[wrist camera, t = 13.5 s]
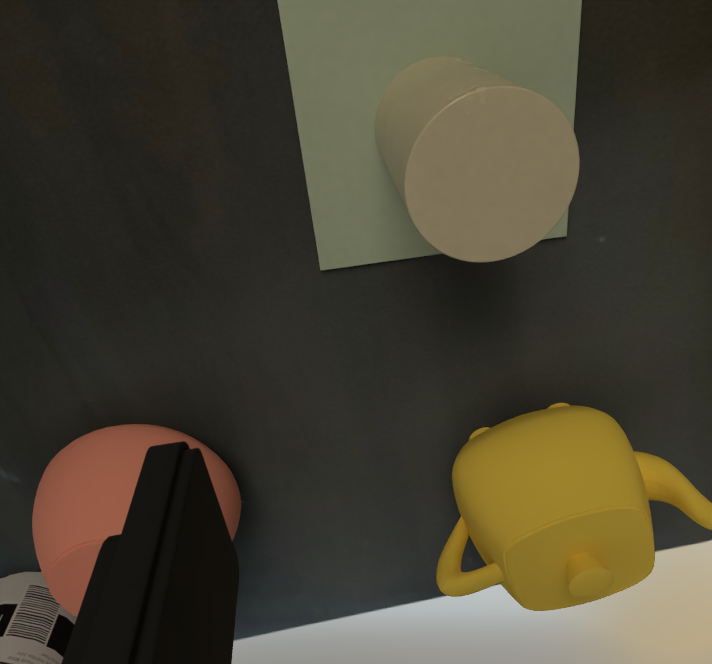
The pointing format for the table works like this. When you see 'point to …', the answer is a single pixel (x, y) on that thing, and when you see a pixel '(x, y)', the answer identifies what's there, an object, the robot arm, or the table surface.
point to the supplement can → (32, 621)
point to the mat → (372, 77)
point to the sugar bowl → (103, 501)
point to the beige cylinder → (476, 158)
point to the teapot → (559, 508)
